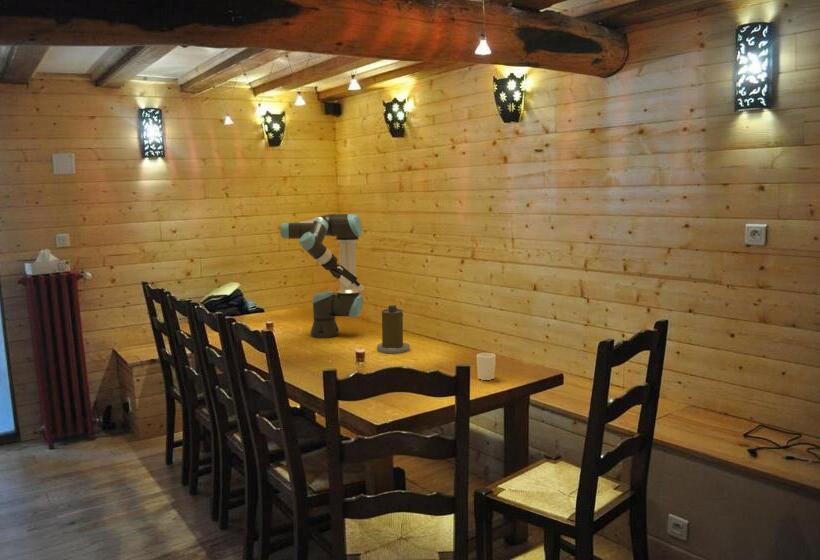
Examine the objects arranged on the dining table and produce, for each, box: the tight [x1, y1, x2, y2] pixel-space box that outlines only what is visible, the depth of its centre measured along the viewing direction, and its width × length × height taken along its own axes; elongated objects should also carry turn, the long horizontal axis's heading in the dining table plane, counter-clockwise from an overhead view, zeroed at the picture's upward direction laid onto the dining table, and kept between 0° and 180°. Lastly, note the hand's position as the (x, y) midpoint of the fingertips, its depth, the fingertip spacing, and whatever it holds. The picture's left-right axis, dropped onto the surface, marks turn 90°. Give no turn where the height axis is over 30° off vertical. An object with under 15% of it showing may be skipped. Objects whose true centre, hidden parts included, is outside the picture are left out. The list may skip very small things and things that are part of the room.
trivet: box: [376, 342, 411, 355], centre depth 329 cm, size 16×16×2 cm
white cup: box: [476, 352, 497, 381], centre depth 279 cm, size 8×8×10 cm
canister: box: [380, 304, 404, 348], centre depth 328 cm, size 11×10×20 cm
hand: (355, 287), depth 324 cm, fingers open, 13 cm apart
